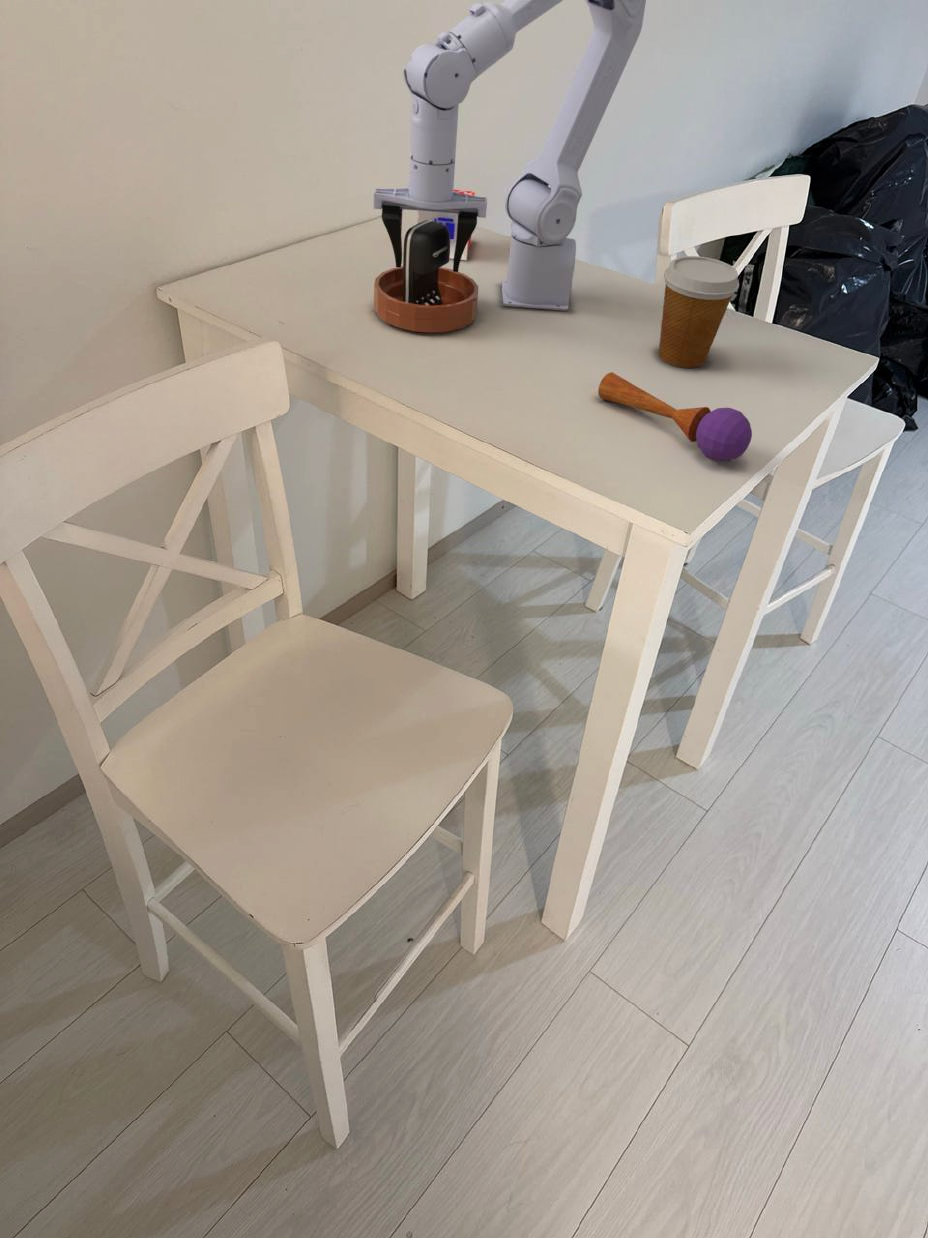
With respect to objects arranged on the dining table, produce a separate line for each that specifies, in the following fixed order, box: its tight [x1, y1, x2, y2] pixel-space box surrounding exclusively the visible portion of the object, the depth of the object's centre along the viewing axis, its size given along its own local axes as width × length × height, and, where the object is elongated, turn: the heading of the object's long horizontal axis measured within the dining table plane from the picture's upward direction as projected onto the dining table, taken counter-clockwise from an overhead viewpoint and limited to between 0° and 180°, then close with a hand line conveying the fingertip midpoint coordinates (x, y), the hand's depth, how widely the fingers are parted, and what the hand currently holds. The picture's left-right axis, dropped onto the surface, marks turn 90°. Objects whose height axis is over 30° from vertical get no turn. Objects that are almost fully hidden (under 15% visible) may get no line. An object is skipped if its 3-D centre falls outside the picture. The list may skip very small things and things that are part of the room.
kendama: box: [597, 371, 753, 463], centre depth 106 cm, size 6×6×20 cm
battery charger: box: [402, 220, 450, 306], centre depth 123 cm, size 7×4×11 cm, turn 149°
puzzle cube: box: [417, 189, 476, 261], centre depth 143 cm, size 8×8×8 cm
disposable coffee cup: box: [658, 255, 740, 369], centre depth 118 cm, size 10×10×12 cm
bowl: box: [373, 265, 479, 333], centre depth 126 cm, size 14×14×4 cm
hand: (427, 266), depth 123 cm, fingers open, 7 cm apart
